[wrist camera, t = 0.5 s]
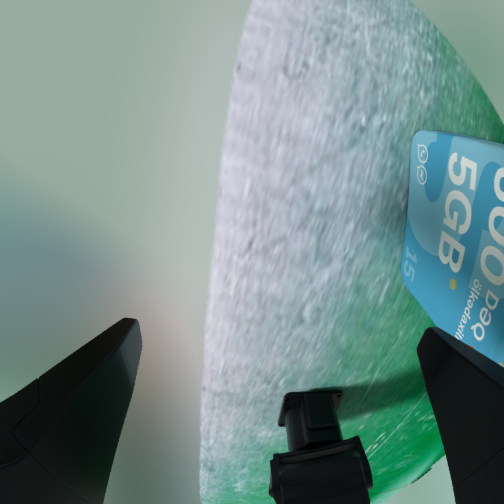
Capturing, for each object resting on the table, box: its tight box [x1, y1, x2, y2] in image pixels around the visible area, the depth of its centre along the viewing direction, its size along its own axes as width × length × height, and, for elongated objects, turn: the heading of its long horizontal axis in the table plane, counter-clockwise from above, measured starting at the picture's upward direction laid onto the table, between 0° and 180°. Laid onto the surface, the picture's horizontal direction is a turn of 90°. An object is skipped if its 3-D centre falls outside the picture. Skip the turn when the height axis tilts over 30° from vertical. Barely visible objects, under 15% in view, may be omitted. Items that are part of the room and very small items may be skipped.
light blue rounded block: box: [401, 130, 504, 364], centre depth 14 cm, size 12×4×12 cm, turn 5°
